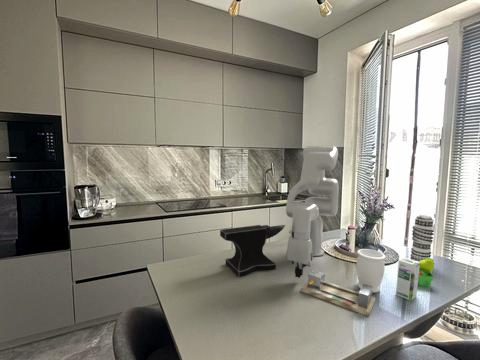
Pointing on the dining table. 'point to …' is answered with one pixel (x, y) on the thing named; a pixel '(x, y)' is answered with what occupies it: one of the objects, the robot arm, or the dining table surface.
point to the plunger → (316, 279)
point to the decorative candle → (422, 238)
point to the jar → (370, 268)
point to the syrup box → (407, 278)
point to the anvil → (250, 248)
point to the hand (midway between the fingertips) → (298, 276)
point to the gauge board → (339, 300)
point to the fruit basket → (425, 272)
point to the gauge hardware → (364, 294)
